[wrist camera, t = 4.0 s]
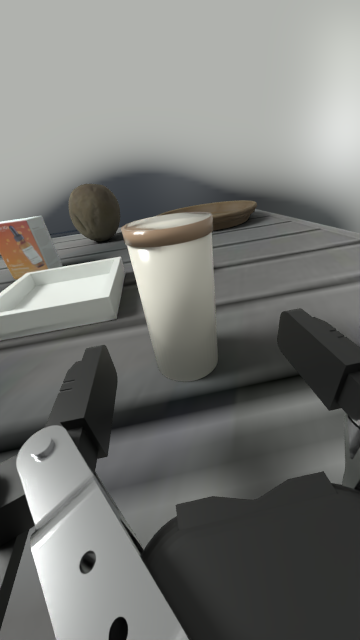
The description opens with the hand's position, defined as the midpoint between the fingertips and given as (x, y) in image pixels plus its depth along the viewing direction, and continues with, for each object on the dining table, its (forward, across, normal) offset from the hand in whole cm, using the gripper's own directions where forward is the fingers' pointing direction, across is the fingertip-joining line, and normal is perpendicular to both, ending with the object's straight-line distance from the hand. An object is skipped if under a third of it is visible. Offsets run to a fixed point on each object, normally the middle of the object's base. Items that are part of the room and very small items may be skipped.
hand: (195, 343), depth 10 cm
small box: (+41, +26, +7) cm, 49 cm away
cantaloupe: (+66, +16, +7) cm, 69 cm away
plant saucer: (+66, -16, +7) cm, 69 cm away
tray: (+23, +15, +6) cm, 29 cm away
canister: (+6, 0, +7) cm, 9 cm away
